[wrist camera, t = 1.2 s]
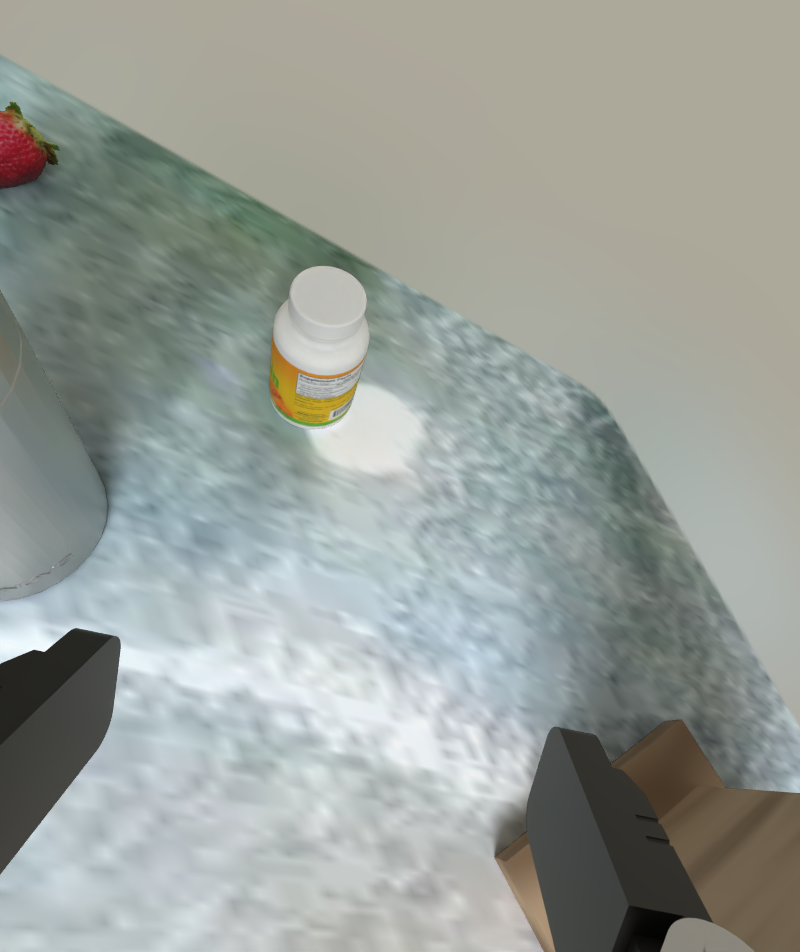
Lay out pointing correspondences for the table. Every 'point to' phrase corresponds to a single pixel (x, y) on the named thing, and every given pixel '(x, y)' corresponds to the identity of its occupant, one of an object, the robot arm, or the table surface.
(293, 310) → the supplement bottle
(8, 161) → the fruit
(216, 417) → the table surface
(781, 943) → the walnut stand
